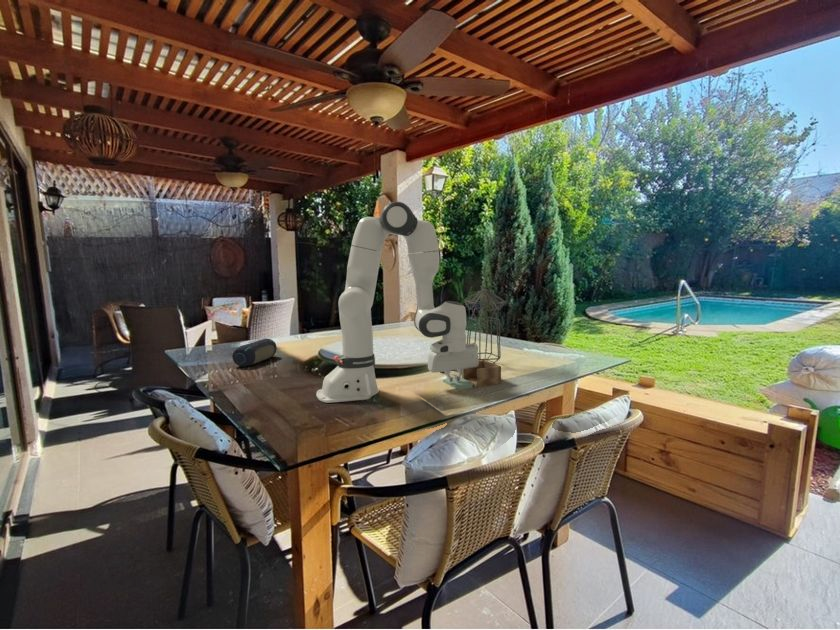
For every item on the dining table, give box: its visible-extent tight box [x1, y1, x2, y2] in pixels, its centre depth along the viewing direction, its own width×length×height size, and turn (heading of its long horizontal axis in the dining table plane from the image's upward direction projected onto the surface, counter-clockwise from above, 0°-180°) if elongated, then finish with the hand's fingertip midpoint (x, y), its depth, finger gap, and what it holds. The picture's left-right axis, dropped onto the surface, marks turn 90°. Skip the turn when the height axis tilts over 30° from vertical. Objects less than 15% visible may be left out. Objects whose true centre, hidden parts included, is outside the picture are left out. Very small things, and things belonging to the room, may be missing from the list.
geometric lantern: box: [462, 288, 508, 364], centre depth 191 cm, size 16×16×35 cm
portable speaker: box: [232, 338, 278, 368], centre depth 206 cm, size 25×10×10 cm, turn 165°
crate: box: [461, 360, 502, 388], centre depth 165 cm, size 10×12×8 cm
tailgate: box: [442, 376, 476, 391], centre depth 161 cm, size 1×12×7 cm
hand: (453, 381), depth 161 cm, fingers closed
